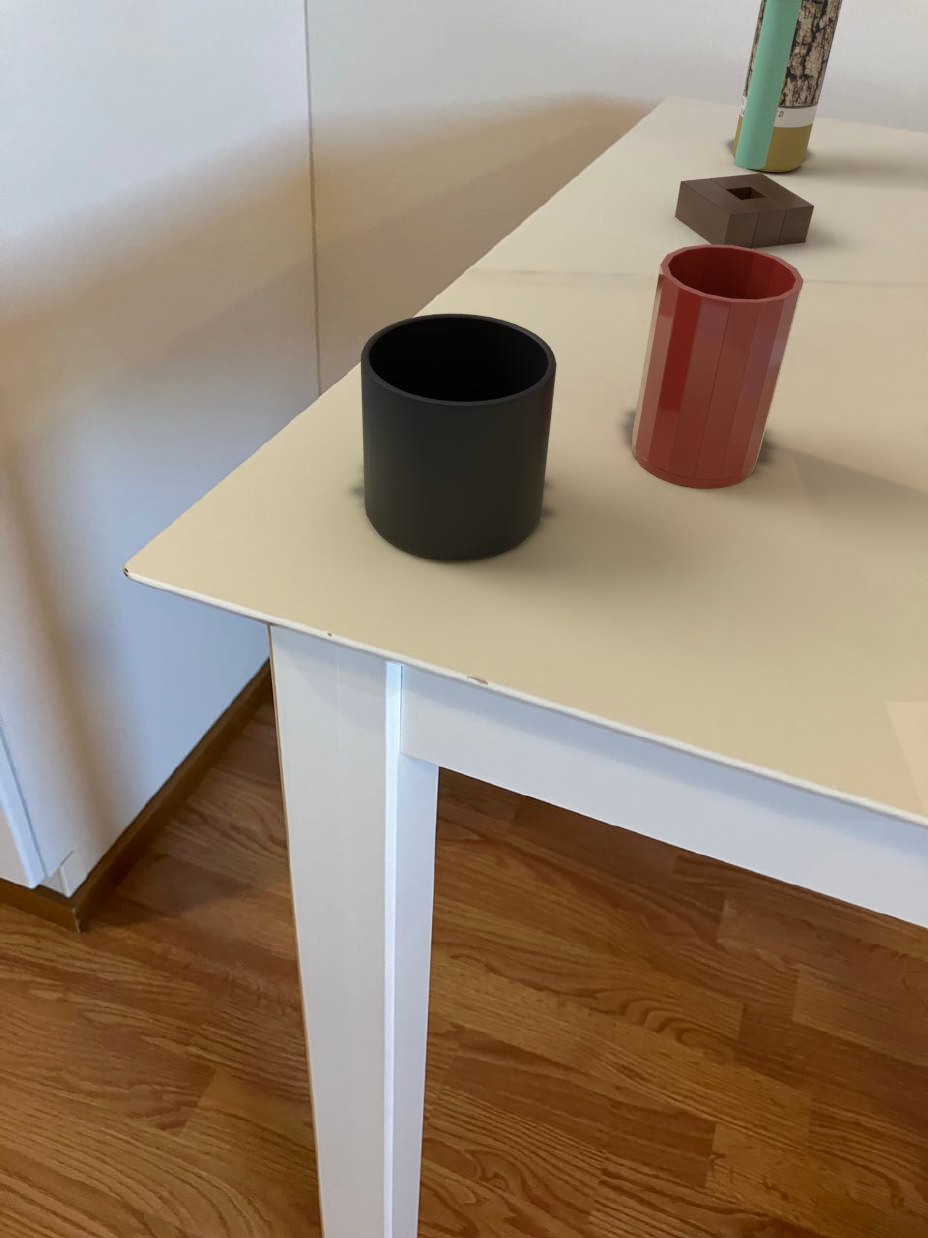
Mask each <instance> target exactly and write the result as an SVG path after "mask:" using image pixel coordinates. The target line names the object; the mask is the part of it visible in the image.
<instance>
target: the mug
mask: <svg viewBox="0 0 928 1238" xmlns="http://www.w3.org/2000/svg"><path fill="white" fill-rule="evenodd" d="M556 375H557V360H556V356H555V353H554V352H553V349H552V347H551V346H550V345H549V344H548V343H547V342H546V341H545V340H544V339H543V338H542V337H540V336H539V335H538V334H536V333H535V332H533V331H531V330H530V329H528V328H525V327H524V326H521V325H519V324H516V323H514V322H510V321H507V320H504V319H501V318H495V317H491V316H485V315H479V314H471V313H433V314H426V315H419V316H414V317H410V318H409V317H408V318H405V319H401V320H399V321H396V322H394V323H391V324H388V325H386V326H384V327H383V328H381V329H380V330H378V331H377V332H375V333H374V334H373V335H372V336H370V337H369V338H368V340H367V341H366V342H365V344H364V346H363V348H362V351H361V353H360V382H361V383H360V385H361V386H360V387H361V388H360V389H361V392H360V393H361V420H362V421H361V422H362V423H361V424H362V425H361V426H362V454H363V455H362V457H363V459H362V460H363V488H364V491H363V492H364V510H365V513H366V516H367V519H368V520H369V522H370V524H371V526H372V527H373V528H374V530H375V531H376V532H377V533H378V535H379V536H380V537H382V538H383V539H384V540H385V541H387V542H388V543H390V544H391V545H393V546H395V547H396V548H398V549H401V550H402V551H405V552H407V553H410V554H413V555H416V556H420V557H423V558H429V559H434V560H442V561H474V560H480V559H485V558H489V557H494V556H497V555H501V554H503V553H505V552H507V551H510V550H511V549H514V548H516V547H517V546H519V545H520V544H521V543H523V542H524V541H525V540H526V539H527V538H529V536H530V535H531V534H532V533H533V532H534V530H535V529H536V527H537V525H538V524H539V521H540V519H541V516H542V510H543V500H544V491H545V481H546V480H545V479H546V471H547V462H548V461H547V460H548V452H549V442H550V433H551V422H552V413H553V405H554V395H555V394H554V393H555V384H556Z"/></svg>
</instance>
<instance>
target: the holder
mask: <svg viewBox="0 0 928 1238" xmlns="http://www.w3.org/2000/svg"><path fill="white" fill-rule="evenodd" d="M814 209H815V205H814V204H812V203H811V202H809V201H807V200H805V199H804V198H802V197H801V196H799V195H798V194H796V193H794V192H792V190H790V189H788V188H786V187H785V186H783V185H781V184H780V183H778V182H776V181H775V180H773V179H772V178H770V177H769V176H767V175H766V174H764V173H762V172H759V173H749V174H738V175H737V174H736V175H729V176H728V175H727V176H719V177H718V176H717V177H716V176H715V177H709V178H708V177H706V178H698V179H697V178H696V179H687V180H681V181H680V184H679V190H678V195H677V201H676V206H675V213H674V218H675V219H677V220H678V221H680V222H681V223H682V224H684V225H685V226H686V227H688V228H689V229H690V230H692V231H693V232H694V233H696V234H697V235H698V236H700V237H701V238H702V239H704V240H705V241H707V243H709V244H713V245H734V246H739V247H744V248H750V249H755V250H756V249H761V248H762V249H763V248H770V247H771V248H772V247H777V246H787V245H795V244H802V243H803V244H804V243H806V241H807V237H808V233H809V229H810V225H811V222H812V217H813V213H814Z"/></svg>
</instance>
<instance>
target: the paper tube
mask: <svg viewBox="0 0 928 1238" xmlns="http://www.w3.org/2000/svg"><path fill="white" fill-rule="evenodd" d="M843 1H844V0H802V1H801V5H800V10H799V14H798V19H797V23H796V28H795V32H794V37H793V41H792V46H791V50H790V55H789V59H788V64H787V68H786V73H785V78H784V82H783V87H782V91H781V96H780V100H779V105H778V109H777V114H776V118H775V123H774V127H773V132H772V136H771V141H770V145H769V150H768V154H767V159H766V163H765V166H764V167H763V168H760V169H754V170H756V171H760V172H768V173H769V172H770V173H786V172H790V171H791V172H792V171H794V170H797V169H798V168H800V167H801V166H802V164H803V163H804V161H805V159H806V155H807V150H808V147H809V143H810V137H811V134H812V130H813V125H814V122H815V119H816V115H817V109H818V105H819V101H820V97H821V94H822V88H823V84H824V80H825V77H826V72H827V67H828V63H829V59H830V55H831V51H832V46H833V42H834V38H835V34H836V30H837V26H838V22H839V18H840V14H841V9H842V6H843V5H842V4H843ZM766 2H767V0H760V5H759V9H758V15H757V22H756V26H755V32H754V36H753V42H752V46H751V51H750V52H751V53H750V55H749V56H750V57H749V62H748V67H747V72H746V78H745V82H744V87H743V92H742V98H741V103H740V108H739V115H738V120H737V125H736V130H735V136H734V140H733V144H732V145H733V146H732V156H733V158H734V160H735V155H736V151H737V146H738V141H739V136H740V131H741V126H742V121H743V116H744V111H745V106H746V101H747V96H748V91H749V86H750V81H751V76H752V72H753V67H754V62H755V57H756V52H757V47H758V42H759V37H760V32H761V27H762V22H763V17H764V12H765V7H766Z"/></svg>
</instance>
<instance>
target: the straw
mask: <svg viewBox="0 0 928 1238" xmlns="http://www.w3.org/2000/svg"><path fill="white" fill-rule="evenodd" d="M801 1H802V0H767V2H766V7H765V12H764V17H763V22H762V27H761V32H760V37H759V42H758V47H757V52H756V57H755V62H754V67H753V72H752V76H751V81H750V86H749V91H748V96H747V101H746V106H745V111H744V116H743V121H742V126H741V131H740V136H739V141H738V146H737V151H736V155H735V159H734V164H735V165H736V166H738V167H740V168H742V169H747V170H755V169H760V168H763V167H764V166H765V163H766V159H767V154H768V150H769V145H770V141H771V136H772V132H773V127H774V123H775V118H776V114H777V109H778V105H779V100H780V96H781V91H782V87H783V82H784V78H785V73H786V68H787V64H788V59H789V55H790V50H791V46H792V41H793V37H794V32H795V28H796V23H797V19H798V14H799V10H800V5H801Z"/></svg>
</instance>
